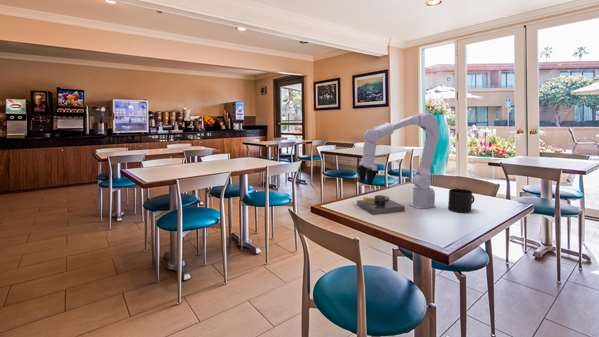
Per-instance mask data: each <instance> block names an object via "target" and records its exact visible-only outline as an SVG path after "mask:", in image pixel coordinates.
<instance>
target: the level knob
mask: <svg viewBox="0 0 599 337" xmlns="http://www.w3.org/2000/svg"><path fill="white" fill-rule="evenodd" d="M362 200H363V202H375V203H376V204H385V203H386V196H385V195H380V194H377V195H374V197H364V196H363V199H362Z"/></svg>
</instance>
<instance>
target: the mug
mask: <svg viewBox="0 0 599 337" xmlns="http://www.w3.org/2000/svg"><path fill="white" fill-rule="evenodd" d="M474 202H475V196H474V195H473V191H472V190H469V189H465V188H451V189H449V190H448V210H449V211H451V212H453V213H459V214H461V213H462V214H467V213H471V212H472V204H474Z"/></svg>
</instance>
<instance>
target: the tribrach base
mask: <svg viewBox="0 0 599 337" xmlns="http://www.w3.org/2000/svg"><path fill="white" fill-rule="evenodd" d="M356 206H357V207H359V208H361V210H364V211H365V212H367V213H369V214H370V215H383V214H393V213H402V212H405V211H406V210H405V205H403V204H401V203H398V202H396V201H394V200H391V199H390V196H386V203H385V204H376V203H375V202H363V199H360V200H356Z"/></svg>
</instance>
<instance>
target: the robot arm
mask: <svg viewBox="0 0 599 337" xmlns="http://www.w3.org/2000/svg"><path fill="white" fill-rule="evenodd" d="M410 125H411V126H412V125H414V126H418V127H419V128H421V129H423V131H424V132H425V134H426V138H425V141H424V146H423V150H422V153H421V158H420V162H419V166H418V168H417V169H416V171H415V173H414V174H413V176H412V182H413V184H414V185H413V186H412V203H408V206H411V207H413V208H416V209H418V210H420V209H423V210H424V209H430V208H436V206H435V200H436V192H435V190H434V188H432V187H431V185H432V179H431V178H432V172H431V169H432V166H433V161H434V158H435V157H434V156H435V154H436V150H437V149H436V148H437V145H438V141H439V137H440V133H441V132H440V128H439V125H438V119H437V118H436V116H435V115H434V114H433V113H431V112H426V113H424V112H423V113H422V112H421V113H419V114H413V115H410V116H408V117H405V118H403V119H401V120H398V121H396V122H394V123H390V122H383V123H382V124H381V125H379V126H373V127H372V129H371V128H370V129H367V130H365V132H364V134H363V137H364V144H363V150H362V158H361V159H362V160H361V161H359V163H358V166H356V169H357V171H358V178H359V182H365V180H366V184H367V185H370V186H371V185H373V182H374V179H375V177H376V175H378V173H379V171H378V166H377V165H376V164H375V161H376V160H375V159H376V151H377V141H378V139H379V140H381V139H383V138H385V137H389V136H391V135H393V134H394V132H395V131H396V130H400V129H401V128H406V127H408V126H410Z"/></svg>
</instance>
